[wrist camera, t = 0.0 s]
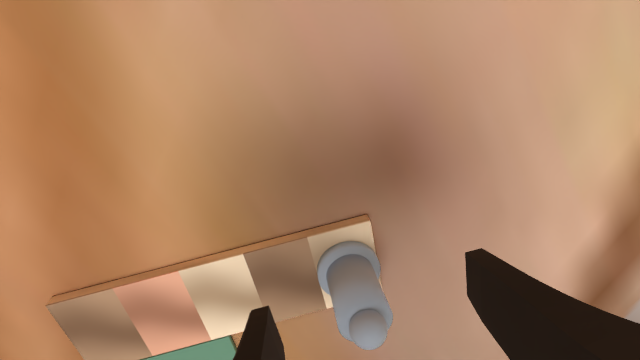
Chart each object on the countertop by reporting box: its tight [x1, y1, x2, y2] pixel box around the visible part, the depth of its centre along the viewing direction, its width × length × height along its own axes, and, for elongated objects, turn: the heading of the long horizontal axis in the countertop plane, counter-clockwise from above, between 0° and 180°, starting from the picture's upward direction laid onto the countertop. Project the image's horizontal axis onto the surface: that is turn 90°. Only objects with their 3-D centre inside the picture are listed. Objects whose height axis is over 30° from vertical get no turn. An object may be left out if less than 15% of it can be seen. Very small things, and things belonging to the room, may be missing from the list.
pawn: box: [317, 241, 393, 350], centre depth 22 cm, size 4×4×6 cm
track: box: [46, 214, 383, 360], centre depth 24 cm, size 6×20×1 cm, turn 102°
